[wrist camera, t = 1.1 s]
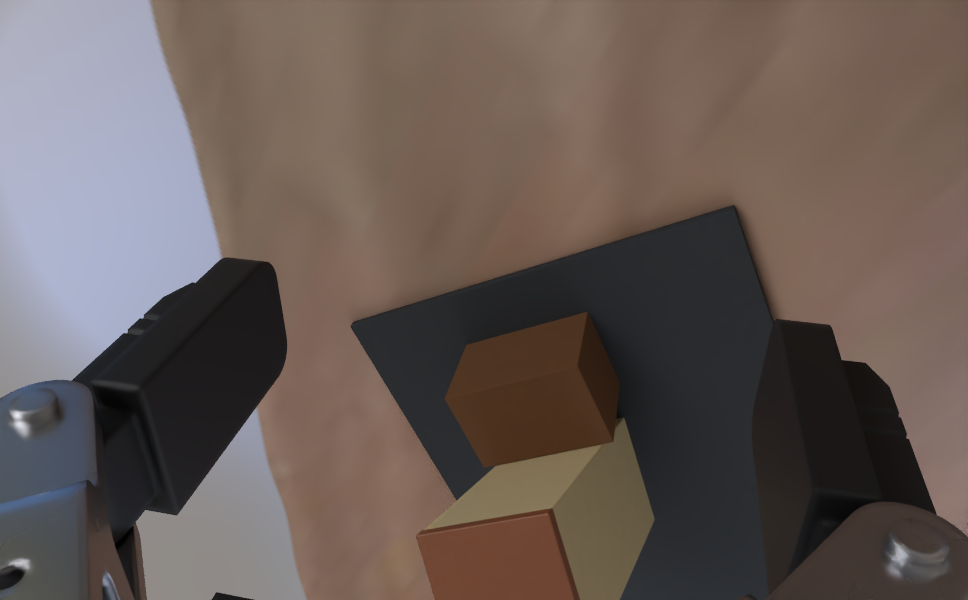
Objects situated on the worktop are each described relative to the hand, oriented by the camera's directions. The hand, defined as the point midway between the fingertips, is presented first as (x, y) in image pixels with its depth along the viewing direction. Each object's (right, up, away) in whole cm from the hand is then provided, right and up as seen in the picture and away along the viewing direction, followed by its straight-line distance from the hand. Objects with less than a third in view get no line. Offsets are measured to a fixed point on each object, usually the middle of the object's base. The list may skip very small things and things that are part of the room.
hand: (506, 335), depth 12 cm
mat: (+6, -7, +25) cm, 27 cm away
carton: (+4, -5, +24) cm, 25 cm away
